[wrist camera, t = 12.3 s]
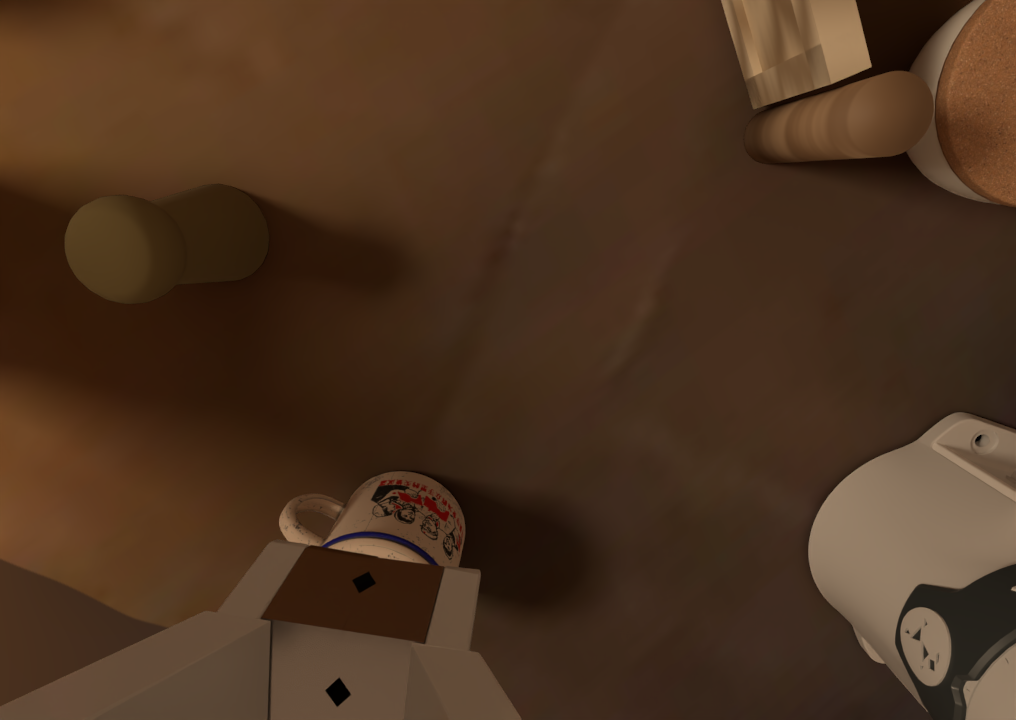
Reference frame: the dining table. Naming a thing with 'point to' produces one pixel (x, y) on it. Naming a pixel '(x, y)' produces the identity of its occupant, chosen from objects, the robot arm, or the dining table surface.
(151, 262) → the cork
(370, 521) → the teacup with lid
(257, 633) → the robot arm
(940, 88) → the lidded jar
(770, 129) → the hinge post
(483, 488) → the dining table surface
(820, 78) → the wooden panel
